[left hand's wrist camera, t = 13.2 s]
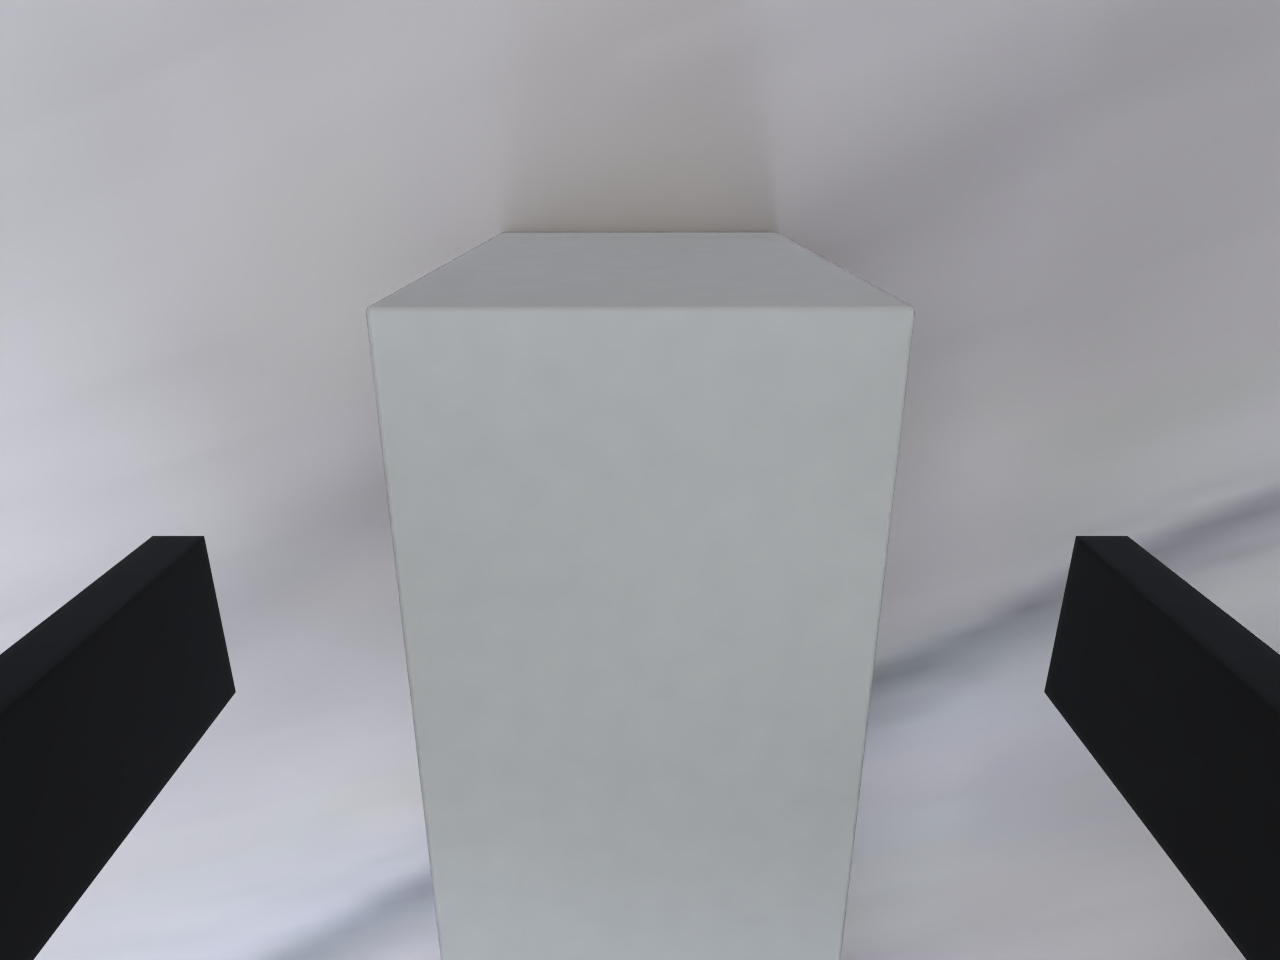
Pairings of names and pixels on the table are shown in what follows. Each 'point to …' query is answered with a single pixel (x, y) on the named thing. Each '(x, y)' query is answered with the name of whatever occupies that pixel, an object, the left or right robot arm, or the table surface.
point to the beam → (640, 585)
